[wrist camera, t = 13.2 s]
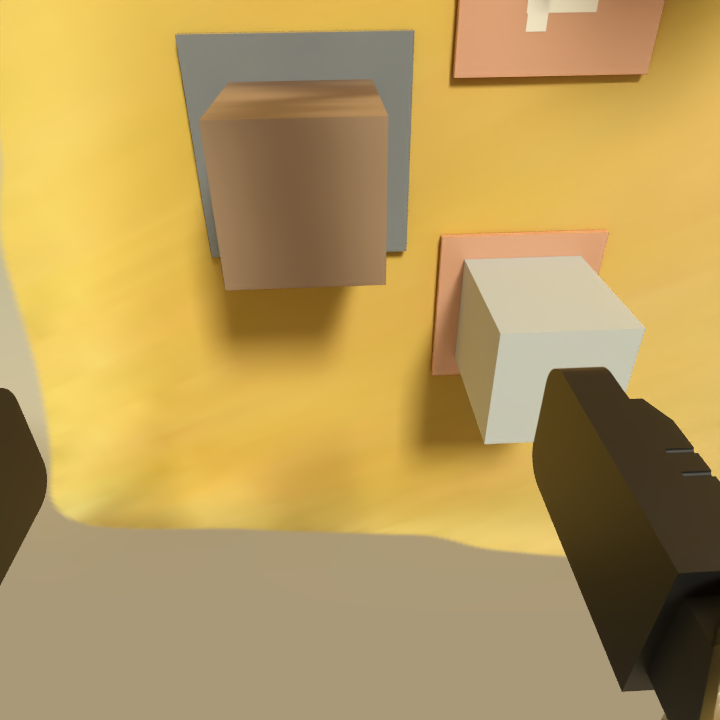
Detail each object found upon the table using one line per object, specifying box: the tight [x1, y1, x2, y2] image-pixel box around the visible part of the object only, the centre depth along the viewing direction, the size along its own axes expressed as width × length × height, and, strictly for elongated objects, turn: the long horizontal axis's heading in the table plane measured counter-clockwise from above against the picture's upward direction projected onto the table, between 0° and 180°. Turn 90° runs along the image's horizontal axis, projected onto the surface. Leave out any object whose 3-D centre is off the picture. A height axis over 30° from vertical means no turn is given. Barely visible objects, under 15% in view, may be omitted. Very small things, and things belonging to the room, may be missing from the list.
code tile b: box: [431, 230, 609, 375], centre depth 26 cm, size 7×7×1 cm
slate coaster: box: [175, 29, 414, 257], centre depth 22 cm, size 8×8×1 cm
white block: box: [455, 256, 645, 444], centre depth 24 cm, size 5×5×6 cm
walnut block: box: [199, 79, 388, 290], centre depth 19 cm, size 5×5×6 cm
